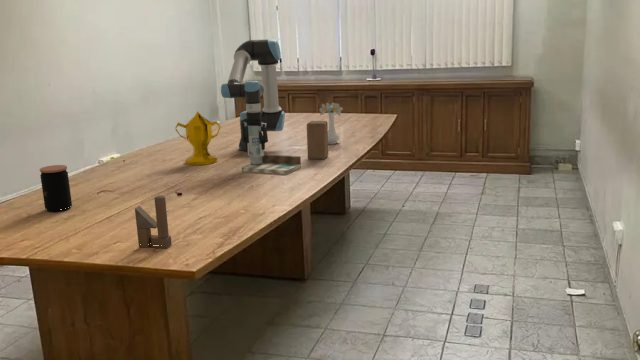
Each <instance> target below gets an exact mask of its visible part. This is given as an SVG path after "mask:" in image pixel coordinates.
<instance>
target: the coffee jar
mask: <svg viewBox="0 0 640 360" xmlns="http://www.w3.org/2000/svg"><path fill="white" fill-rule="evenodd" d="M67 169H68V167H67V165H65V164H53V165H47V166H43V167H40V168H39V172H40V174H39V175H40V182H41V183H40V184H41V189H42V191H41V192H42V196H43V198H42V199H43V202H44V204H43V205H44V209H45V210H46V209H47V210H46V211H47V212H48V213H61V212H65V211H69V210H70V209H71V208H72V205H73V201H72V193H71V186H70V179H69V172H68V171H67ZM70 206H71V207H70ZM68 207H69V208H68ZM65 208H66V209H65ZM60 209H62V210H60Z"/></svg>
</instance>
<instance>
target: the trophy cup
mask: <svg viewBox="0 0 640 360" xmlns="http://www.w3.org/2000/svg"><path fill="white" fill-rule="evenodd" d="M215 125H216V126H218V129H217V132H216V134H214V135H213V133H214V132H213V126H215ZM178 127H181V128H183V129H185V136H186V137H185V136H183V135H181V134H180V131H178V129H177V128H178ZM221 127H222V126H221V124H219V123H218V121H217V120H214V121H212V122H211V121H210V120H209V119H207V118H206V117H204V116H203V115H202V114H201V113H200V112H199V111H196V113H195V115H194V116H193V117H192V118H191V119H190V120H189V121H188V122H187V123H186V124H183V123H181V122H177V124H176V126H175V131H176V133H177V135H179V137H181V138H183V139H184V140H187V141H188V143H189V144H190V145H191V146H192V147H193V153H192V155H190V156H189V157H187V158H186V159H184V163H185V165H187V166H206V165H211V164H214V163H218V161H219V160H218V156H216V155H213V154H211V153H210V152H209V145H210V143H211V140H212V139H214V138H217V136H218V134H219V132H220V130H221Z"/></svg>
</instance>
